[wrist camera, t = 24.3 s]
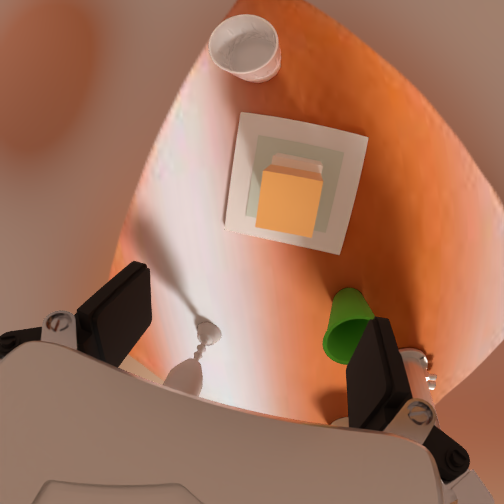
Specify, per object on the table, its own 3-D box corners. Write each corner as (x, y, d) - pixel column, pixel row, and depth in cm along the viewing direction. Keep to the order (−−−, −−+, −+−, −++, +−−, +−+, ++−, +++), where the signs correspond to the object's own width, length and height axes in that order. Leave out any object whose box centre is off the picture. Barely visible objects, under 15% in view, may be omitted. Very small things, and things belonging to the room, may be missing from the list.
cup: (315, 316, 49) (314, 359, 39) (330, 271, 45) (335, 310, 35) (362, 325, 48) (370, 369, 38) (381, 282, 44) (396, 322, 34)
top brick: (320, 173, 32) (323, 181, 27) (311, 221, 35) (311, 238, 29) (270, 164, 33) (263, 170, 28) (263, 211, 36) (255, 227, 30)
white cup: (271, 95, 36) (259, 83, 27) (221, 75, 36) (197, 61, 27) (294, 50, 33) (290, 26, 24) (244, 32, 32) (226, 7, 23)
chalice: (191, 314, 54) (150, 381, 37) (225, 320, 53) (193, 393, 36) (194, 343, 57) (159, 409, 40) (226, 349, 56) (198, 419, 39)
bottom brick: (320, 161, 37) (322, 166, 32) (309, 215, 41) (309, 228, 35) (277, 152, 38) (272, 155, 33) (268, 206, 41) (261, 218, 36)
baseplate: (367, 137, 36) (368, 137, 35) (339, 252, 43) (339, 255, 42) (242, 112, 38) (240, 111, 37) (225, 228, 45) (223, 230, 44)
